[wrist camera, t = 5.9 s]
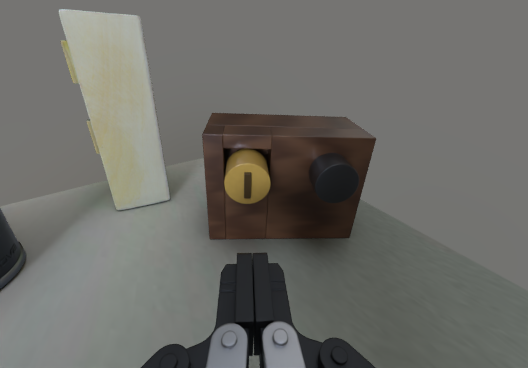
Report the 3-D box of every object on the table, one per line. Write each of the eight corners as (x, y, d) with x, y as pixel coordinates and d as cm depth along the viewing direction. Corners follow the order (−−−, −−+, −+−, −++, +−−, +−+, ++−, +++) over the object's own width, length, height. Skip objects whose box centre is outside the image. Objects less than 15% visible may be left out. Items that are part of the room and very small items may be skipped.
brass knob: (224, 206, 22) (223, 164, 20) (226, 185, 26) (225, 147, 24) (269, 206, 23) (272, 165, 21) (266, 185, 26) (268, 148, 24)
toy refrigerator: (109, 185, 37) (61, 14, 27) (161, 176, 40) (136, 20, 30) (108, 213, 31) (46, 7, 21) (171, 201, 34) (142, 15, 24)
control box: (206, 257, 26) (197, 144, 20) (216, 200, 35) (211, 112, 29) (359, 254, 27) (391, 148, 21) (329, 200, 36) (346, 116, 31)
